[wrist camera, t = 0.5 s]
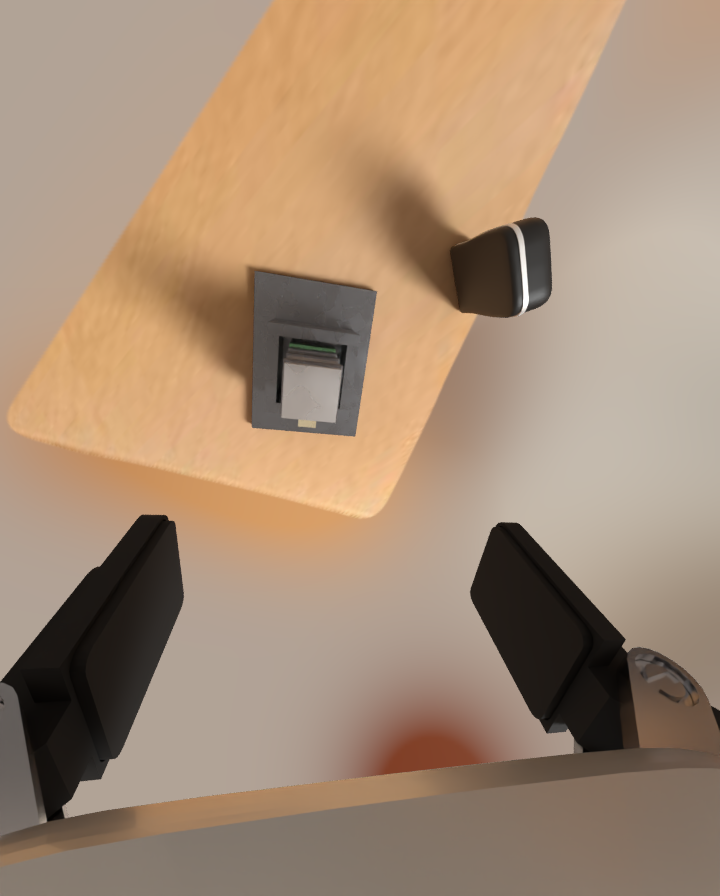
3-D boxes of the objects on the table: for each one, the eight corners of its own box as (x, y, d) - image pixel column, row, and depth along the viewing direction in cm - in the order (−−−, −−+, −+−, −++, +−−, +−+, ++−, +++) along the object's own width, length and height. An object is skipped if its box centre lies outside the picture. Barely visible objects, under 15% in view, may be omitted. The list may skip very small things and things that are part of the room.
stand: (256, 271, 32) (238, 261, 24) (375, 291, 35) (395, 289, 26) (253, 424, 39) (237, 457, 30) (354, 433, 41) (365, 466, 33)
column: (291, 339, 34) (281, 359, 23) (333, 345, 35) (344, 367, 23) (288, 381, 36) (278, 420, 24) (328, 385, 37) (337, 425, 25)
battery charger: (491, 304, 37) (562, 306, 26) (459, 315, 37) (517, 321, 26) (482, 233, 34) (559, 204, 23) (447, 246, 34) (508, 222, 23)
